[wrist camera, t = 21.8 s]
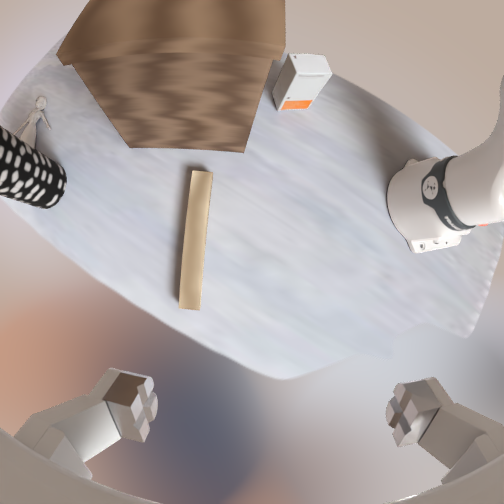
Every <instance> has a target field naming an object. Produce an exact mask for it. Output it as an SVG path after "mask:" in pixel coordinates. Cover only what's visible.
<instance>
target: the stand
mask: <svg viewBox="0 0 504 504" xmlns="http://www.w3.org/2000/svg"><path fill="white" fill-rule="evenodd" d="M284 49H285V0H90V1H89V2H88V4H87V5H86V6H85V8H84V9H83V11H82V12H81V14H80V15H79V17H78V18H77V20H76V21H75V23H74V24H73V26H72V28H71V29H70V31H69V32H68V34H67V36H66V38H65V39H64V41H63V43H62V45H61V46H60V48H59V50H58V52H57V54H56V55H57V57H58V58H59V59H60V61H61V62H62V64H63V65H64V66H65V65H70V64H72V65H73V67H74V68H75V70H76V71H77V73H78V74H79V76H80V77H81V79H82V80H83V82H84V83H85V85H86V86H87V88H88V89H89V91H90V92H91V94H92V95H93V96H94V98H95V99H96V101H97V102H98V104H99V105H100V107H101V108H102V110H103V111H104V112H105V114H106V115H107V117H108V118H109V120H110V121H111V122H112V124H113V125H114V127H115V128H116V129H117V131H118V132H119V134H120V135H121V136H122V138H123V139H124V141H125V142H126V143H127V145H128V146H129V148H179V149H200V150H216V151H229V152H240V153H244V151H245V147H246V144H247V141H248V137H249V134H250V131H251V127H252V124H253V121H254V118H255V114H256V111H257V108H258V105H259V102H260V98H261V95H262V92H263V89H264V86H265V83H266V80H267V77H268V74H269V70H270V67H271V64H272V61H273V60H279V61H280V60H281V57H282V54H283V52H284Z"/></svg>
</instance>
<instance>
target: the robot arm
mask: <svg viewBox="0 0 504 504" xmlns="http://www.w3.org/2000/svg"><path fill="white" fill-rule="evenodd" d="M387 202H388V209H389V213H390V216H391V219H392V221H393V223H394V225H395V227H396V228H397V229H398V231H399V232H400V233H401V234H402V235H403V236H404V237H405V239H406V240H407V242H408V245H409V247H410V249H411V251H412V252H413V253H421V252H426V251H431V250H437V249H442V248H446V247H451V246H456V245H458V244H459V243H460V240H461V237H462V235H466V234H469V233H470V231H471V228H474V227H475V226H476V225H479V226H486V225H488V224H489V223H496V222H503V221H504V76H503V78H502V81H501V85H500V112H499V116H498V120H497V123H496V126H495V128H494V130H493V132H492V134H491V135H490V137H489V138H488V139H487V140H486V141H485V142H484V143H482V144H481V145H479V146H478V147H476V148H474V149H472V150H471V151H469V152H467V153H465V154H462V155H460V156H451V157H446V158H443V159H442V160H440V159H438V158H437V157H433V158H429V159H426V160H423V161H420V162H419V161H417V160H415V159H411V160H408V162H407V163H406V165H405V167H404V168H403V169H402V170H400V171H399V172H397V173H396V174H395V175H394V176H393V178H392V179H391V181H390V184H389V187H388V193H387ZM420 245H421V248H420ZM153 387H154V383H153V380H152V378H151V377H149V376H144V375H140V374H136V373H132V372H127V371H122V370H118V369H114V368H110V369H108V370H107V371H106V373H105V374H104V375H103V377H102V378H101V379H100V380H99V382H98V383H97V384H96V386H95V387H94V388H93V390H92V391H91V392H90V394H89V395H85V394H84V395H82V396H80V397H77V398H75V399H72V400H70V401H67V402H64V403H62V404H59V405H57V406H55V407H51V408H49V409H46V410H43V411H41V412H38V413H35V414H32V415H31V416H30V418H29V419H28V420H27V421H26V422H25V424H24V425H23V426H22V427H21V428H20V430H19V431H18V432H17V434H16V435H15V436H14V437H12V436H11V435H10V434H8V433H7V432H5V431H4V430H3V429H1V428H0V504H161V503H157V502H153V501H149V500H146V499H143V498H139V497H135V496H133V495H129V494H127V493H123V492H121V491H118V490H115V489H112V488H110V487H107V486H104V485H102V484H99V483H97V482H95V481H92V480H91V478H92V473H91V472H90V470H89V469H88V468H87V466H86V465H85V464H84V462H85V461H87V460H89V459H90V458H92V457H93V456H95V455H96V454H98V453H100V452H101V451H102V450H104V449H105V448H107V447H109V446H110V445H112V444H113V443H115V442H116V441H118V440H119V439H120V438H121V437H123V438H127V439H131V440H135V441H139V442H144V441H145V439H146V437H147V434H148V432H149V430H150V428H149V425H148V423H149V422H151V421H153V420H154V418H155V416H156V413H157V407H158V400H157V396H156V394H155V393H154V392H153V391H152V389H153ZM393 393H394V395H395V396H394V397H393V398H392V399H391V400H390V401H389V402H388V405H387V407H386V419H387V422H388V425H389V426H391V427H392V428H394V431H393V433H392V435H393V437H394V439H395V442H396V444H397V447H401V446H406V445H410V444H415V443H418V444H419V445H420V446H421V447H422V448H424V449H425V450H426V451H427V452H429V453H430V454H431V455H432V456H434V457H435V458H436V459H437V460H439V461H440V462H441V463H442V464H444V465H445V466H446V467H448V468H449V469H450V470H449V471H448V472H447V474H445V476H444V477H443V478H442V480H441V482H442V484H443V485H440V486H438V487H435V488H433V489H430V490H427V491H425V492H422V493H419V494H416V495H413V496H410V497H407V498H403V499H400V500H396V501H393V502H389V503H385V504H504V426H503V425H502V424H500V423H498V422H496V421H494V420H492V419H489V418H487V417H485V416H483V415H481V414H479V413H477V412H475V411H473V410H471V409H469V408H467V407H464V406H462V405H460V404H458V403H456V404H454V403H453V401H452V400H451V398H450V397H449V396H448V394H447V393H446V392H445V390H444V389H443V387H442V386H441V384H440V383H439V381H438V380H437V379H436V378H434V377H431V378H426V379H421V380H415V381H409V382H403V383H398V384H397V385H396V386H395V388H394V391H393Z"/></svg>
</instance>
